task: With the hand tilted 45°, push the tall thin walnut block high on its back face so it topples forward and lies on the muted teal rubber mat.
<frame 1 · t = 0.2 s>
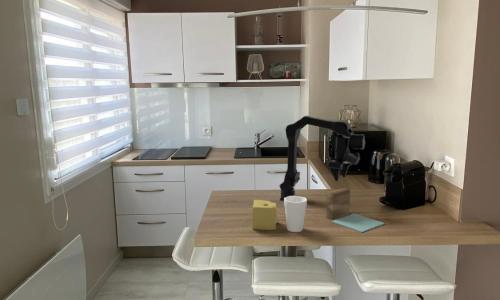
hand: (340, 179, 192), 14 cm above the counter, tool pointing down, fingers open, 9 cm apart
cheese: (264, 226, 169), on the counter
walnut block: (337, 216, 181), on the counter
foam cup: (294, 229, 165), on the counter
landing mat: (357, 222, 172), on the counter
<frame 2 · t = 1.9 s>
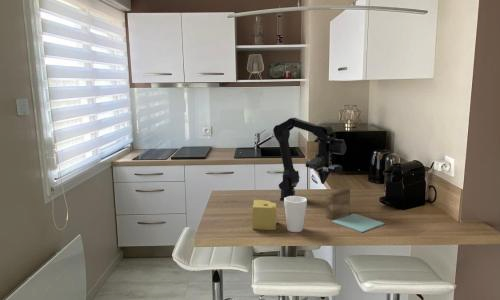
hand: (322, 183, 191), 12 cm above the counter, tool pointing down, fingers closed
nothing on the counter moved.
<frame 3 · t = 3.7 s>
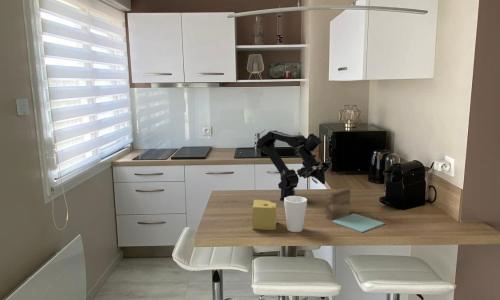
hand: (324, 183, 185), 14 cm above the counter, tool tilted 45°, fingers closed
nothing on the counter moved.
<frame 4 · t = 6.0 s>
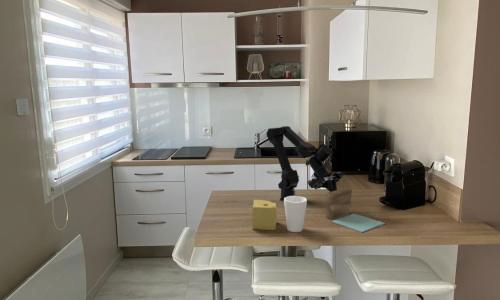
hand: (336, 195, 180), 10 cm above the counter, tool tilted 45°, fingers closed
nothing on the counter moved.
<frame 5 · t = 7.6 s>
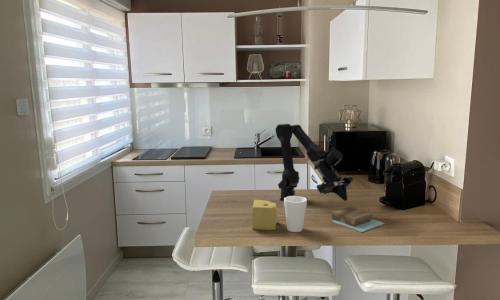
hand: (346, 200, 176), 9 cm above the counter, tool tilted 45°, fingers closed
walnut block: (340, 212, 179), point 2 cm above the counter, tilted 90°, touching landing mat
everything else where it was.
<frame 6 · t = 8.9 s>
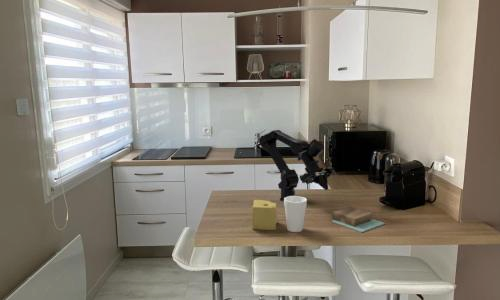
hand: (327, 189, 184), 11 cm above the counter, tool tilted 45°, fingers closed
nothing on the counter moved.
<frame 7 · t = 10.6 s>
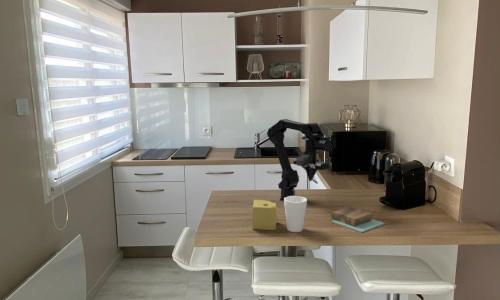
hand: (310, 180, 193), 13 cm above the counter, tool pointing down, fingers closed
nothing on the counter moved.
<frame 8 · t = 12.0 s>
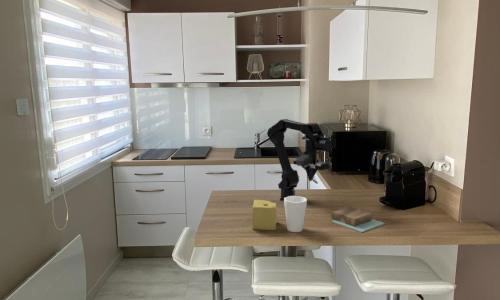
hand: (310, 180, 193), 13 cm above the counter, tool pointing down, fingers closed
nothing on the counter moved.
at the end: walnut block tilted 90°; walnut block touching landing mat; foam cup moved 0.2 cm from its start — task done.
